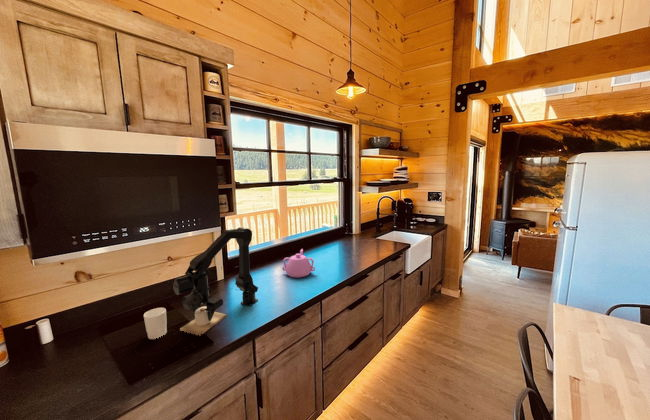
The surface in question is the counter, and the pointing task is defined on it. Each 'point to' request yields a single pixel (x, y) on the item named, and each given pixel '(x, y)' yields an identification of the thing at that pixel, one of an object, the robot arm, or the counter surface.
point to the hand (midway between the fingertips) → (203, 319)
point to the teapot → (298, 265)
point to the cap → (201, 316)
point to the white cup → (155, 322)
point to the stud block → (199, 330)
